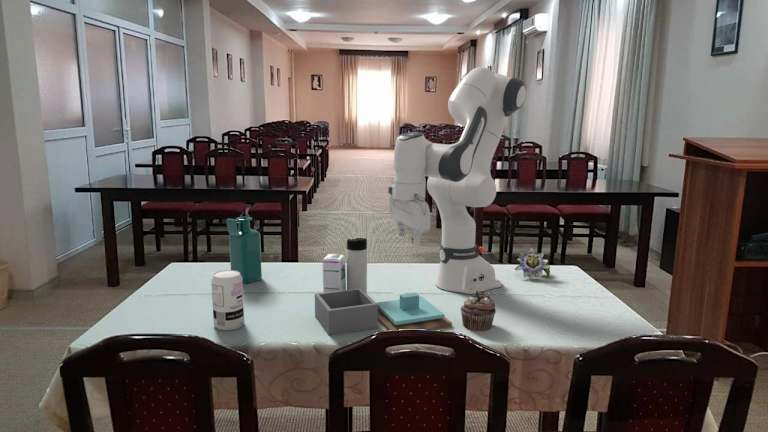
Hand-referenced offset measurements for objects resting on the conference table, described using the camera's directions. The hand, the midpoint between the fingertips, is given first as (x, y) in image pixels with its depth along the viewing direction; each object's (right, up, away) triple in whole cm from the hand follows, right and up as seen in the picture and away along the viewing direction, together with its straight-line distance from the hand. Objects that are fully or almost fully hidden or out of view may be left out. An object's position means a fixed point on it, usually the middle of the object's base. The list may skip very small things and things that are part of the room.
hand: (408, 240), depth 163 cm
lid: (0, -22, +3) cm, 22 cm away
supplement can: (-50, -24, -2) cm, 56 cm away
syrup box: (-22, -20, +17) cm, 34 cm away
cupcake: (+19, -24, 0) cm, 31 cm away
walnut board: (0, -23, +4) cm, 23 cm away
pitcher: (-55, -15, +36) cm, 67 cm away
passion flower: (+46, -15, +43) cm, 65 cm away
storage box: (-18, -23, +1) cm, 29 cm away
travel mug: (-15, -20, +19) cm, 31 cm away
